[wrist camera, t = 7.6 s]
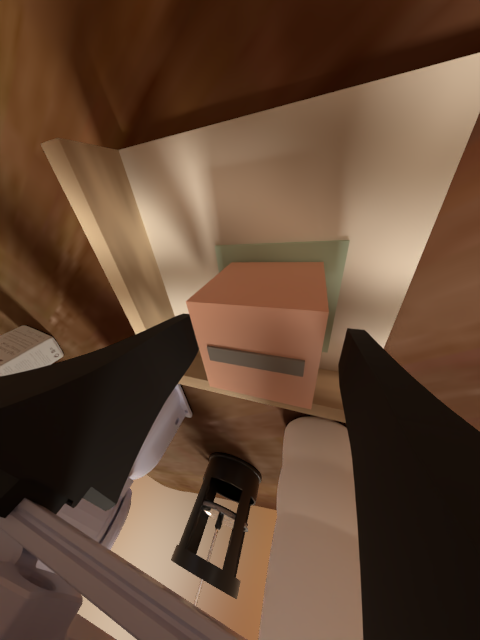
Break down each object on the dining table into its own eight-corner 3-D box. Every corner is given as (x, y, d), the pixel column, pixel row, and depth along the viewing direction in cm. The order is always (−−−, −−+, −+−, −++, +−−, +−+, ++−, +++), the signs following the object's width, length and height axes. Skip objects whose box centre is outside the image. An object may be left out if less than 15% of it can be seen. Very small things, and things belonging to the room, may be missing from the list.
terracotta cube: (323, 262, 10) (328, 313, 6) (312, 339, 12) (311, 411, 8) (231, 262, 11) (184, 302, 7) (239, 330, 14) (208, 387, 10)
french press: (236, 450, 28) (100, 894, 11) (276, 482, 30) (219, 905, 12) (196, 454, 35) (72, 726, 17) (230, 480, 37) (152, 749, 19)
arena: (365, 379, 14) (378, 430, 11) (182, 349, 19) (157, 378, 16) (486, 60, 6) (657, -71, 3) (114, 156, 11) (40, 143, 8)
